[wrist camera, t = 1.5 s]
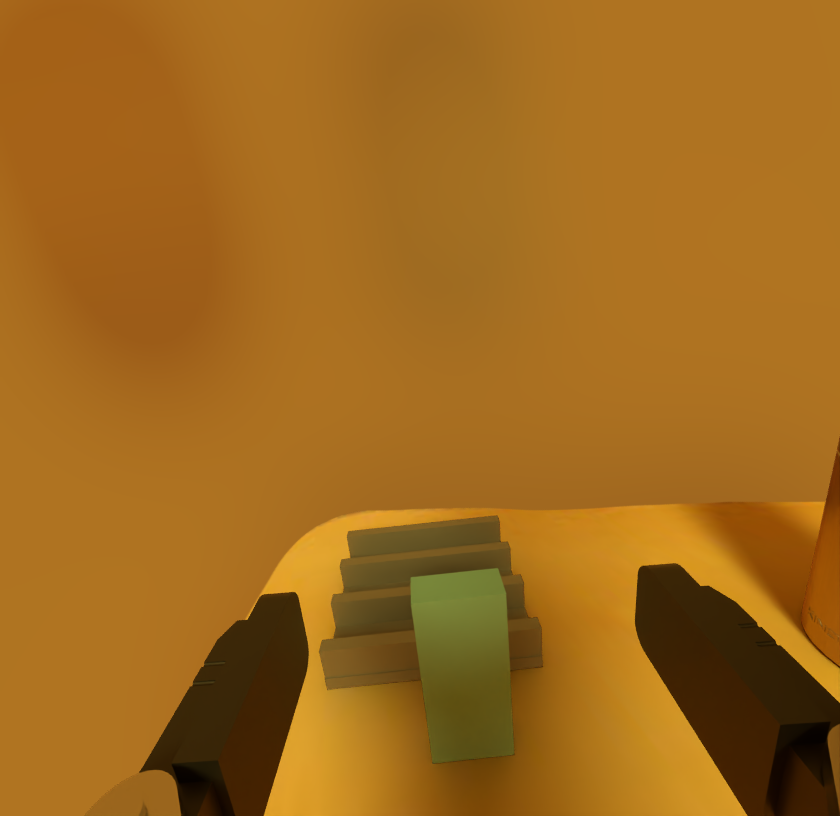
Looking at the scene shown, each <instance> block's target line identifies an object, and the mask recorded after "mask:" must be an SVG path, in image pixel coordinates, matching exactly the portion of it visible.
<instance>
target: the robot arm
mask: <svg viewBox="0 0 840 816" xmlns="http://www.w3.org/2000/svg"><path fill="white" fill-rule="evenodd" d="M801 623H802V625H803V628H804V630H805V632H806V634H807V635H808V636H809V638H810V639H811V641H812V642H813V643H814V644H815V645H816V646H817V647H818V648H819V649H820V650H821V651H822V652H823V653H824V654H825V655H826V656H827V657H829V658H830V659H831V660H832V661H834V662H835V663H836V664H837V665H839V666H840V438H839V442H838V447H837V453H836V457H835V461H834V466H833V471H832V475H831V480H830V484H829V489H828V494H827V498H826V503H825V507H824V512H823V516H822V521H821V525H820V530H819V535H818V539H817V544H816V548H815V553H814V557H813V562H812V567H811V571H810V575H809V580H808V584H807V589H806V594H805V598H804V603H803V608H802V612H801ZM635 626H636V631H637V635H638V638H639V641H640V644H641V646H642V648H643V650H644V652H645V653H646V655H647V657H648V658H649V660H650V661H651V663H652V664H653V666H654V668H655V669H656V671H657V672H658V674H659V676H660V677H661V679H662V680H663V682H664V684H665V685H666V687H667V688H668V690H669V691H670V693H671V695H672V696H673V698H674V699H675V701H676V703H677V704H678V706H679V707H680V709H681V711H682V712H683V714H684V715H685V717H686V719H687V720H688V722H689V723H690V725H691V726H692V728H693V730H694V731H695V733H696V734H697V736H698V738H699V739H700V741H701V742H702V744H703V746H704V747H705V749H706V750H707V752H708V753H709V755H710V757H711V758H712V760H713V761H714V763H715V765H716V766H717V768H718V769H719V771H720V773H721V774H722V776H723V777H724V779H725V780H726V782H727V784H728V785H729V787H730V788H731V790H732V792H733V793H734V795H735V796H736V798H737V800H738V801H739V803H740V804H741V806H742V807H743V809H744V811H745V812H746V814H747V815H748V816H840V703H839V702H838V701H837V700H836V699H835V698H834V697H833V696H832V695H831V694H830V693H829V692H828V691H827V690H826V689H825V688H824V687H823V686H822V685H821V684H820V683H819V682H817V681H816V680H815V679H814V678H813V677H812V676H811V675H810V674H809V673H808V672H807V671H806V670H805V669H804V668H803V667H802V666H801V665H800V664H799V663H798V662H797V661H796V660H795V659H794V658H793V657H792V656H791V655H790V654H789V653H788V652H787V651H786V650H785V649H784V648H783V647H781V646H780V645H779V646H778V645H777V644H776V641H775V640H774V639H773V638H772V637H771V636H770V635H769V634H768V633H767V632H766V631H765V630H764V629H763V628H762V627H758V625H757V622H756V621H755V620H754V619H753V618H752V617H751V616H750V615H749V614H748V613H747V612H745V611H744V610H743V609H742V608H741V607H740V606H739V605H738V604H737V603H736V602H735V601H733V600H732V599H730V598H728V597H727V596H725V595H723V594H722V593H720V592H718V591H717V590H715V589H713V588H712V587H710V586H700V585H699V584H698V583H697V582H696V581H695V580H694V579H693V578H692V577H691V576H690V575H689V574H688V573H687V572H686V571H685V569H684V568H682V567H681V566H680V565H678V564H675V563H673V564H660V565H648V566H641V567H640V568H639V571H638V580H637V596H636V612H635ZM308 656H309V651H308V641H307V636H306V632H305V627H304V622H303V617H302V612H301V608H300V603H299V598H298V596H297V594H296V593H295V592H289V593H276V594H264V595H262V596H261V597H260V598H259V599H258V601H257V603H256V605H255V607H254V609H253V611H252V612H251V614H250V616H249V618H248V620H239V621H237V622H236V623H235V624H233V625H232V626H231V627H230V628H229V629H228V630H227V631H226V632H225V633H224V634H223V635H222V636H221V637H220V638H219V639H218V640H217V642H216V643H215V645H214V647H213V649H212V650H211V652H210V654H209V655H208V657H207V659H206V660H205V662H204V664H205V665H204V667H201V669H200V671H199V672H198V674H197V676H196V677H195V679H194V681H193V686H192V687H190V688H189V690H188V691H187V693H186V694H185V696H184V698H183V700H182V701H181V703H180V705H179V707H178V708H177V710H176V711H175V713H174V715H173V717H172V718H171V720H170V722H169V723H168V725H167V727H166V729H165V730H164V732H163V734H162V735H161V737H160V739H159V741H158V742H157V744H156V746H155V747H154V749H153V751H152V753H151V754H150V756H149V757H148V759H147V761H146V763H145V764H144V766H143V768H142V769H141V771H140V772H139V773H138V774H136V775H134V776H131V777H130V778H128V779H126V780H124V781H122V782H121V783H119V784H118V785H117V786H115V787H113V788H112V789H111V790H110V791H108V792H107V793H106V794H105V795H104V796H102V797H101V798H100V799H99V800H98V801H97V802H96V803H95V804H94V805H93V806H92V807H91V809H90V810H89V811H88V812H87V813H86V814H85V816H264V812H265V809H266V806H267V802H268V799H269V796H270V793H271V789H272V786H273V783H274V779H275V776H276V773H277V769H278V766H279V763H280V759H281V756H282V753H283V749H284V746H285V743H286V739H287V736H288V733H289V729H290V726H291V723H292V719H293V716H294V713H295V709H296V706H297V703H298V699H299V696H300V693H301V689H302V686H303V683H304V679H305V676H306V672H307V667H308Z"/></svg>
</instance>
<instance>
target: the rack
mask: <svg viewBox="0 0 840 816" xmlns="http://www.w3.org/2000/svg"><path fill="white" fill-rule="evenodd" d="M347 540H348V546H349V551H350V557H351V558H349V559H342V560H341V564H340V570H341V575H342V580H343V585H344V591H343V593H342V594H333V597H332V601H331V606H332V611H333V616H334V621H335V626H336V629H335V634H334V639H327V640H322V642H321V646H320V651H319V653H320V657H321V662H322V666H323V671H324V675H325V682H326V686H327V690H328V689H338V688H347V687H357V686H366V685H375V684H385V683H394V682H404V681H413V680H421V675H420V667H419V660H418V653H417V645H416V638H415V631H414V623H413V616H412V609H411V577H419V576H428V575H437V574H446V573H456V572H465V571H474V570H484V569H493V568H498V570H499V573H500V576H501V579H502V582H503V585H504V588H505V592H506V600H507V620H508V640H509V659H510V670H517V669H526V668H536V667H543V660H542V629H541V626H540V623H539V620H538V618H537V617H534V618H528V615H527V613H526V610H525V605H524V582H523V580H522V577H521V575H513V574H512V571H511V555H510V546H509V544H508V542H501V541H500V521H499V518H498V516H488V517H478V518H469V519H460V520H450V521H441V522H431V523H422V524H413V525H403V526H394V527H385V528H375V529H366V530H357V531H348V535H347Z"/></svg>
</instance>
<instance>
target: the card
mask: <svg viewBox="0 0 840 816" xmlns="http://www.w3.org/2000/svg"><path fill="white" fill-rule="evenodd" d="M411 609H412V616H413V623H414V631H415V638H416V645H417V653H418V660H419V667H420V675H421V682H422V689H423V697H424V704H425V711H426V719H427V726H428V733H429V741H430V748H431V755H432V763H442V762H451V761H461V760H470V759H480V758H489V757H498V756H508V755H514V738H513V719H512V699H511V679H510V659H509V640H508V620H507V600H506V592H505V588H504V585H503V582H502V579H501V576H500V573H499V570H498V568H493V569H484V570H474V571H465V572H456V573H446V574H437V575H428V576H419V577H411Z"/></svg>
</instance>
